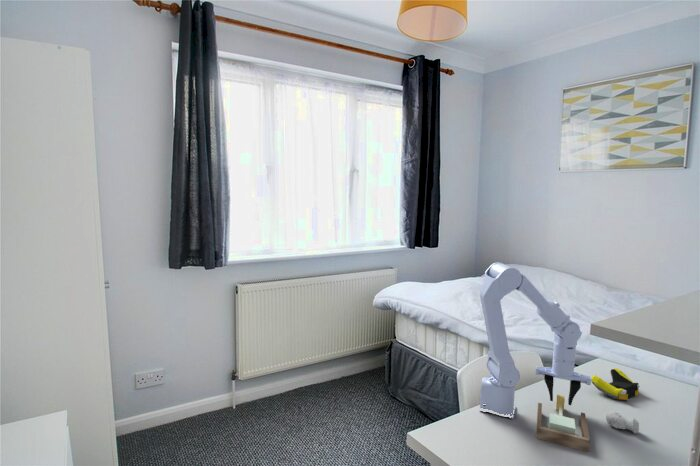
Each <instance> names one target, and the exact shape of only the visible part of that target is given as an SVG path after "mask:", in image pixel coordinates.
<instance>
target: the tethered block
mask: <svg viewBox="0 0 700 466" xmlns="http://www.w3.org/2000/svg"><path fill="white" fill-rule="evenodd" d="M565 399H566V398H565V395H562V394H556V402H555V408H556V409H555V410H556V411H558V410H559V411H558V414H555V413H549V416H548V417H549V419H548V428H549V429H553V430H557V431H561V432H565V433H569V434H573V435H576V420H575V418H572V417H568V416H564V415H563V411H564V412H565V401H566V400H565Z"/></svg>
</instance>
